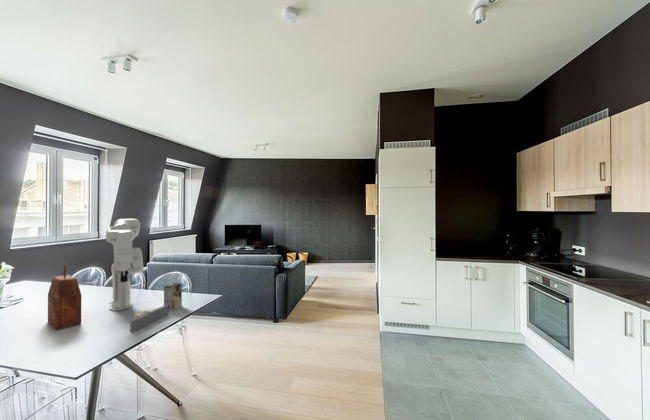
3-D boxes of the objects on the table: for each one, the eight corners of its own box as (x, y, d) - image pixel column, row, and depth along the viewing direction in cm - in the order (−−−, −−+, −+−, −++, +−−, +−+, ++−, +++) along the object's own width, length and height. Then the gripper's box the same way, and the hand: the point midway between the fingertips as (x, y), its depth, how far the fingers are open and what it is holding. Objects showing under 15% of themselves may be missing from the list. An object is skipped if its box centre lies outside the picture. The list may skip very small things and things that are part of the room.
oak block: (134, 323, 151) (134, 315, 151) (144, 318, 158) (144, 310, 158) (144, 324, 150) (144, 316, 150) (154, 319, 157) (154, 311, 157)
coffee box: (174, 305, 180) (174, 282, 180) (182, 306, 179) (182, 283, 179) (163, 310, 171) (163, 286, 171) (171, 311, 170) (171, 287, 170)
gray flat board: (130, 331, 141) (130, 320, 141) (165, 314, 165) (165, 305, 165) (133, 332, 141) (133, 321, 141) (167, 314, 164) (167, 305, 164)
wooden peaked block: (71, 316, 160) (72, 260, 161) (81, 324, 150) (81, 263, 150) (47, 322, 152) (48, 263, 152) (55, 331, 141) (56, 267, 141)
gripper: (107, 252, 154) (107, 282, 154) (128, 253, 151) (128, 284, 151) (120, 250, 161) (119, 279, 161) (140, 251, 158) (140, 280, 158)
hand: (124, 281), depth 156 cm, fingers closed
